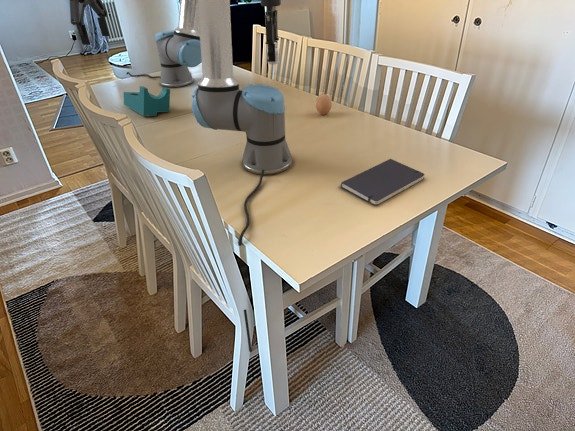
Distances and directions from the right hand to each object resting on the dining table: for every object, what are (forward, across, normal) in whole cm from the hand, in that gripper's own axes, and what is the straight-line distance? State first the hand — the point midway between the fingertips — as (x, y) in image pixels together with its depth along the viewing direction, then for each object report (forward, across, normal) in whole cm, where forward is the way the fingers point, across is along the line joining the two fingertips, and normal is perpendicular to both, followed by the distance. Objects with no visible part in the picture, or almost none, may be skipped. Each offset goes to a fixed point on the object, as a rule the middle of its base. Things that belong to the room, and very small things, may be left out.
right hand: (273, 59), depth 162 cm
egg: (+17, +14, +22) cm, 31 cm away
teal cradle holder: (+17, +15, -50) cm, 55 cm away
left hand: (-10, +17, -64) cm, 67 cm away
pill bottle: (+1, 0, 0) cm, 1 cm away
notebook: (+17, +63, +43) cm, 78 cm away
